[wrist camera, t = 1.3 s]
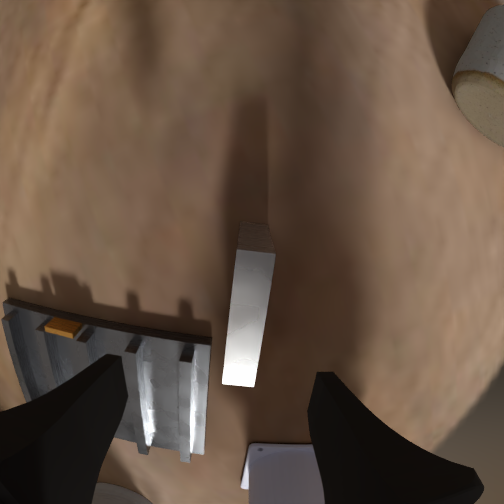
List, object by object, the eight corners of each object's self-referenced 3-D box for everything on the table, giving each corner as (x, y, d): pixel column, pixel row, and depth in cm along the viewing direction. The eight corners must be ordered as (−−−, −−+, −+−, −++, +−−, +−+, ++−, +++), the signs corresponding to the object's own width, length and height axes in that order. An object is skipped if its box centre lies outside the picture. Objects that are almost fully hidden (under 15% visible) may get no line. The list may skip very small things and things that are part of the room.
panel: (267, 224, 19) (275, 253, 13) (252, 328, 21) (254, 387, 15) (240, 221, 19) (236, 249, 13) (228, 326, 21) (222, 383, 15)
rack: (212, 337, 21) (208, 358, 18) (204, 446, 24) (202, 467, 22) (9, 297, 20) (-9, 310, 18) (37, 404, 23) (27, 420, 21)
